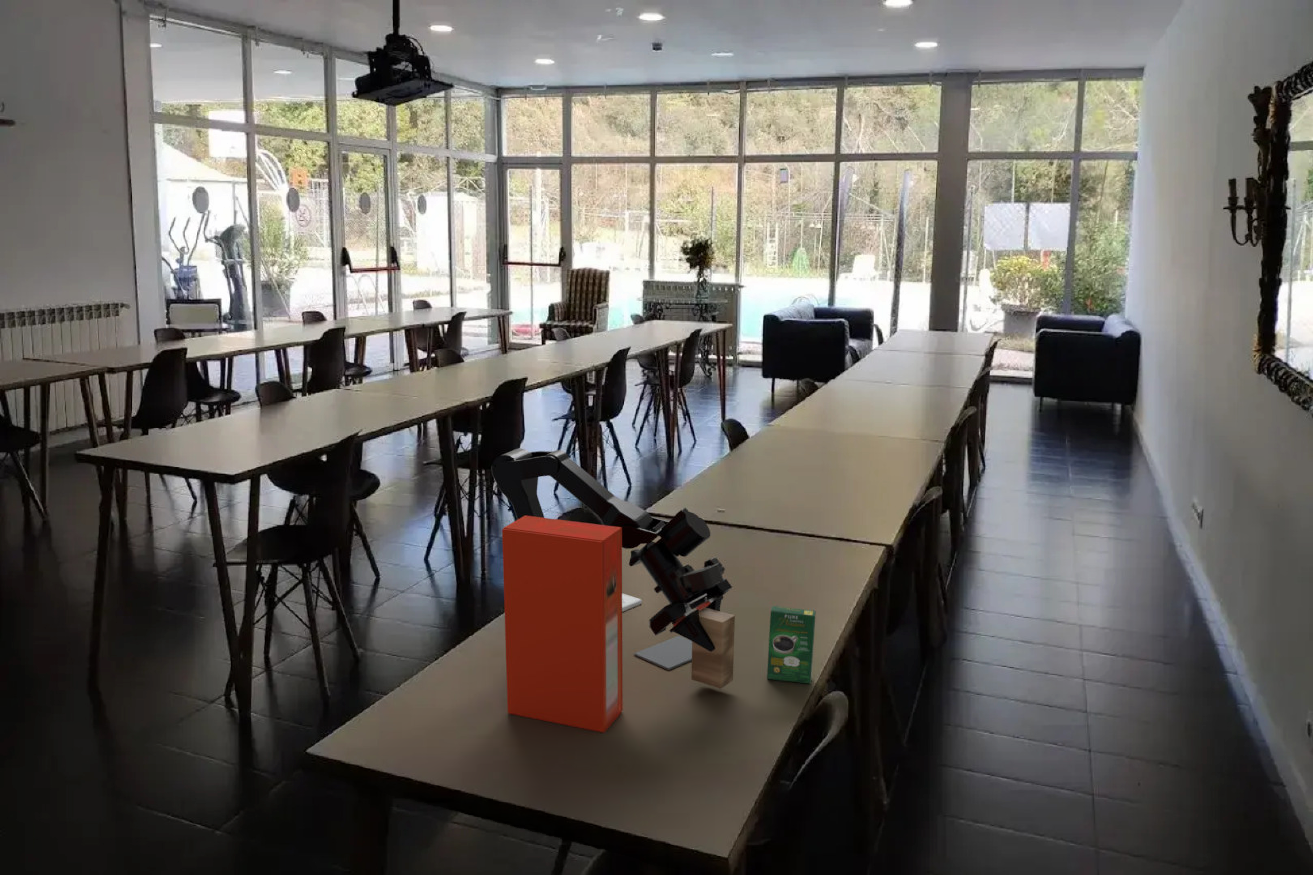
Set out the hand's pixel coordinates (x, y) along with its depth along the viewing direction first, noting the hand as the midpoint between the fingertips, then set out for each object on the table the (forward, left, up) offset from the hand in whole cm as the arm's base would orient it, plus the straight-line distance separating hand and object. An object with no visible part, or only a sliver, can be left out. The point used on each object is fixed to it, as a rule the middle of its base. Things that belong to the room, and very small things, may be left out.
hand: (719, 646), depth 175 cm
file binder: (-24, +12, -9) cm, 29 cm away
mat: (+6, +16, -8) cm, 19 cm away
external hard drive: (+13, +42, -9) cm, 45 cm away
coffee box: (+13, -6, -9) cm, 16 cm away
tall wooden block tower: (0, +1, -7) cm, 7 cm away
